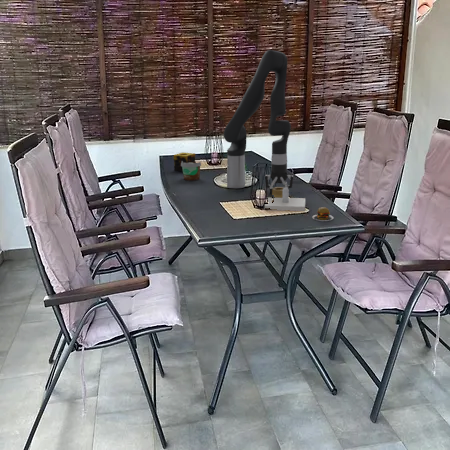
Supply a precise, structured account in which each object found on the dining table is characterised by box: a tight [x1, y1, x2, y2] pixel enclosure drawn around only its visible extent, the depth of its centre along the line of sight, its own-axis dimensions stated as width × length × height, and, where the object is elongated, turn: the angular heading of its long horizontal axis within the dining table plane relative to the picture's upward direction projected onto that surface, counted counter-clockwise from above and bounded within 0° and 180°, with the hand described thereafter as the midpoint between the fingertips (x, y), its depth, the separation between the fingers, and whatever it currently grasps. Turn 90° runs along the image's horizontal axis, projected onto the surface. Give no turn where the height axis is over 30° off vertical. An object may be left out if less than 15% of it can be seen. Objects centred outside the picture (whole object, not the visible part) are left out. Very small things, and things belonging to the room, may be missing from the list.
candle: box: [173, 152, 197, 172], centre depth 313 cm, size 10×10×10 cm
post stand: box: [264, 186, 306, 212], centre depth 232 cm, size 18×14×9 cm
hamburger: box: [311, 206, 335, 222], centre depth 214 cm, size 12×12×6 cm
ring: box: [272, 186, 285, 198], centre depth 248 cm, size 6×6×4 cm
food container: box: [181, 161, 202, 182], centre depth 287 cm, size 12×6×10 cm, turn 68°
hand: (278, 195), depth 248 cm, fingers closed on ring, 6 cm apart
